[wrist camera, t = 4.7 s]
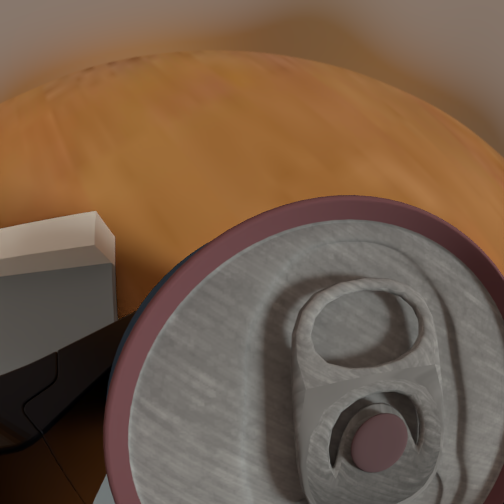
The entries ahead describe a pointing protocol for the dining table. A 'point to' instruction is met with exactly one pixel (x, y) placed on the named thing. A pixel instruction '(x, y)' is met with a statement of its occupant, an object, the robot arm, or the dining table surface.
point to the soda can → (315, 366)
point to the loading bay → (55, 290)
